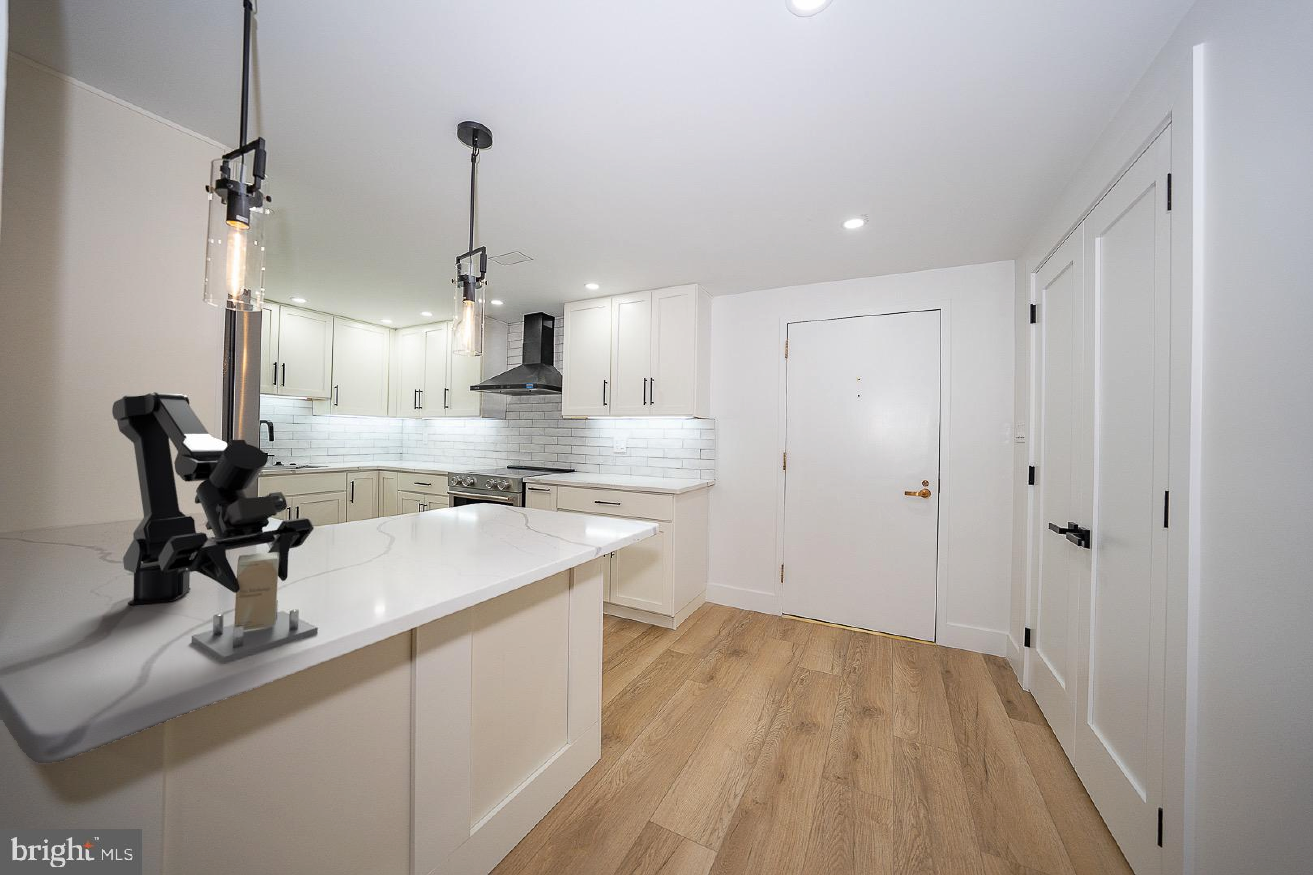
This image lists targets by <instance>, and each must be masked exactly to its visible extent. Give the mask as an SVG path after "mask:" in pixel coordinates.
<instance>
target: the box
mask: <svg viewBox="0 0 1313 875" xmlns="http://www.w3.org/2000/svg"><path fill="white" fill-rule="evenodd" d="M278 564H279V552H272V553H268V552H263V553H261V552H260V553H253V554H241V555H239V557H238V559H237V570H236V578H237V580H238V584H239V587H240V589H239V591H238V592H236V593H235V606H234V607H235V608H234V623H233V624H234V626H236V625H244V630H249V629H256V628H262V627H268V626H274V625H275V620H276V603H277V598H278V581H279V580H278V579H279V577H278Z"/></svg>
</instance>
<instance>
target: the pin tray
mask: <svg viewBox="0 0 1313 875" xmlns="http://www.w3.org/2000/svg"><path fill="white" fill-rule="evenodd" d="M278 603H279V601H278V600H277V603H276V620H275V625H274V626H268V627H262V628H256V629H249V630H244V625H236V626H234V623H233V624H229V625H226V626H224V617H225V616H224V613H218V614H214V615H212V620H213V621H212V629H211V630H207V631H204V632H200V633H197V634H193V635H191V643H192V644H193V645H195V646H197V647H198V648H200V649H201V650H203V651H204V652H205V653H207V654H208V655H210V656H212V657H213V658H215V659H216V660H217V661H219V662H221V663H222V664H224V665H225V664H228V663H231V662H234V661H237V660H240V659H243V658H247V657H249V656H253V655H255V654H258V653H263V652H265V651H267V650H270V649H271V650H272V649H275V648H277V647H280V646H283V645H286V644H289V643H292V642H295V641H298V640H301V639H305V638H307V637H310V636H314V635H317V634H318V633H319V632H318V631H319V630H318V629H319V628H318V626H316V625H313V624H311V623H309V622H307V621H305V620H303V619H301V618H299V617H300V616H299V615H300V611H299V609H292V610H289V613H287V612H286V611H284V610H281V611H278V610H279V609H278V608H279V604H278Z"/></svg>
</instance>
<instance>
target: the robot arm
mask: <svg viewBox="0 0 1313 875" xmlns="http://www.w3.org/2000/svg"><path fill="white" fill-rule="evenodd" d="M111 408H112V410H111V411H112V416H113V420H115V421H117V426H118V430H119V432H120V433H121V434H122V435H124V436H125V437H126V438H127V439H128V440H129V441H130V442H131V443H133V447H134V454H135V462H136V470H137V475H138V483H139V484H138V485H139V490H140V498H141V504H142V512H143V518H142V520H141V521H140V522H139V524H138V526H137V527H136V528H135V529H134V531H133V534H132V535H133V540H132V541H131V543H130V545H129V546H128V548H127V550H126V552H125V554H124V556H123V557H122V561H123V569H124V570H125V571H128V572H131V573H133V597H132V599H130V600H129V601H127V605H128V606H131V605H132V606H133V605H144V604H155V603H156V604H157V603H166V602H170V603H171V602H174V601H176V600H178V599H179V598H181V597H182V596H184V595H186V594H187V593H188V592H189V591H191V587H190V580H191V579H190V578H191V577H190V576H191V573H192V572H197V573H199V574H200V575H203V576H205V577H207V578H209V579H212V580H213V581H215V582H216V583H218V584H220V585H221V586H223V587H224V588H225V589H227V590H229V591H230V592H232V593H234V594H236V592H238V591H239V589H240V587H239V584H238V580H237V575H235V572H234V570H233V568H232V566H231V564H230V562H229V561H228V558H227V553H226V552H227V551H230V550H235V549H242V548H247V547H254V546H258V545H264V544H266V545H268V548H269V549H268V552H267V553H272V552H279V564H278V579H280V580H281V582H285V581H286V580H287V579H288V575H289V574H288V573H289V571H288V570H289V568H288V567H289V552H290V549H294V548H298V547H301V546H302V545H303V544H304V542H305V541H306V540H307V538H309V536H310V534H311V533H312V532H313V531H314V529H315V527H314V525H313V523H312V521H311V520H310V519H309V518H307V517H300V518H294V519H293V518H292V519H286V520H282V521H281V523H280V525H279V526H278V527H277V529H273V530H268V531H264V530H263V528H266V527H267V526H268V525H269V523H270V521H269V518H271V517H272V516H273V517H274V516H277V515H278V513H281V512H283V511H285V510H286V509H287V507H288V502H287V500H286V499H287V498H285V496H284V494H283V493H282V491H277V492H270V493H268V494H267V495H264V496H254V497H248V495H247V494H246V491H245V490H247V489H248V488H251V487H252V486H253V485H254V483H255V481H256V480H257V479H258V477H259V475H260V473H261V472H262V471H263V469H264V468H265V466H266V464H267V463H268V461H269V460H268V459H269V458H268V454H267V453H266V452H264V451H263V450H262V449H260V448H259V447H257V446H254V445H252V444H249V443H247V442H246V440H245V439H229V441H228V442H226V441H223V440H221V439H218V438H216V437H213V436H212V435H211V434H210V433H209V431H208V430H207V429H206V427H205V426H204V423H202V421H201V420H200V418H199V417H198V416H197V415H196V413H195V411H194V410H193V408H192V407H191V406H190V399H189V397H188V396H187V395H183V394H182V393H174V392H173V393H172V392H171V393H170V392H153V393H147V394H145V395H124V396H122V397H121V398H120V399H118V400H115V401H114V403H113V404H112V407H111ZM170 441H171V442H172V444H173V446H174V448H175V449H176V451H177V453H176V457H175V460H174V462H173V459H172V451H171V445H170ZM173 463H174V464H173ZM174 470H175V471H174ZM175 473H176V475H177V476H178V477H180V478H181V480H183V481H184V482H188V483H189V482H200V483H199V485H198V487H197V488H196V490H195V492H196V495H195V497H194V503H195V504H201V507H202V508H203V511H204V513H205V517H206V519H207V520H208V521H207V522H206V524H205V528H206V530H208V531H209V530H211V531H212V533H213V536H210V537H208V534H206V533H205V532H197V531H196V523H195V521H196V520H195V518H193V517H192V515H186V514H185V513H183V512H182V510H180V506H179V499H178V492H177V487H176V486H177V485H176V479H175V478H176V477H175Z"/></svg>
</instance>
